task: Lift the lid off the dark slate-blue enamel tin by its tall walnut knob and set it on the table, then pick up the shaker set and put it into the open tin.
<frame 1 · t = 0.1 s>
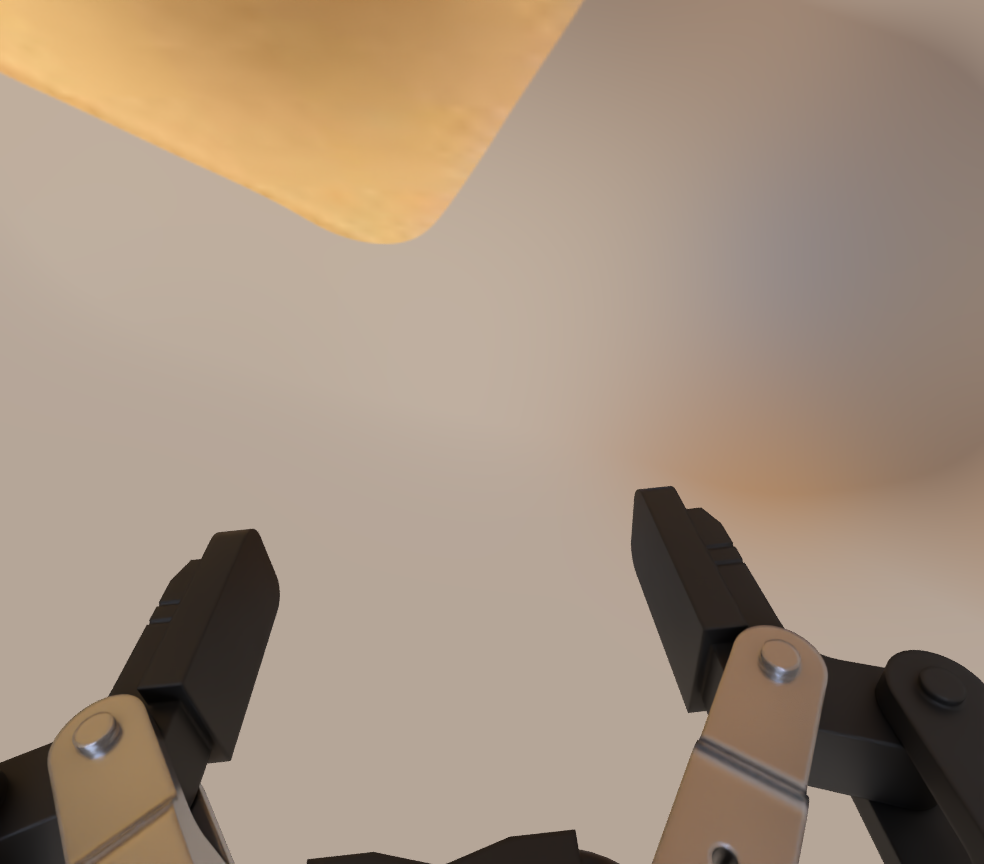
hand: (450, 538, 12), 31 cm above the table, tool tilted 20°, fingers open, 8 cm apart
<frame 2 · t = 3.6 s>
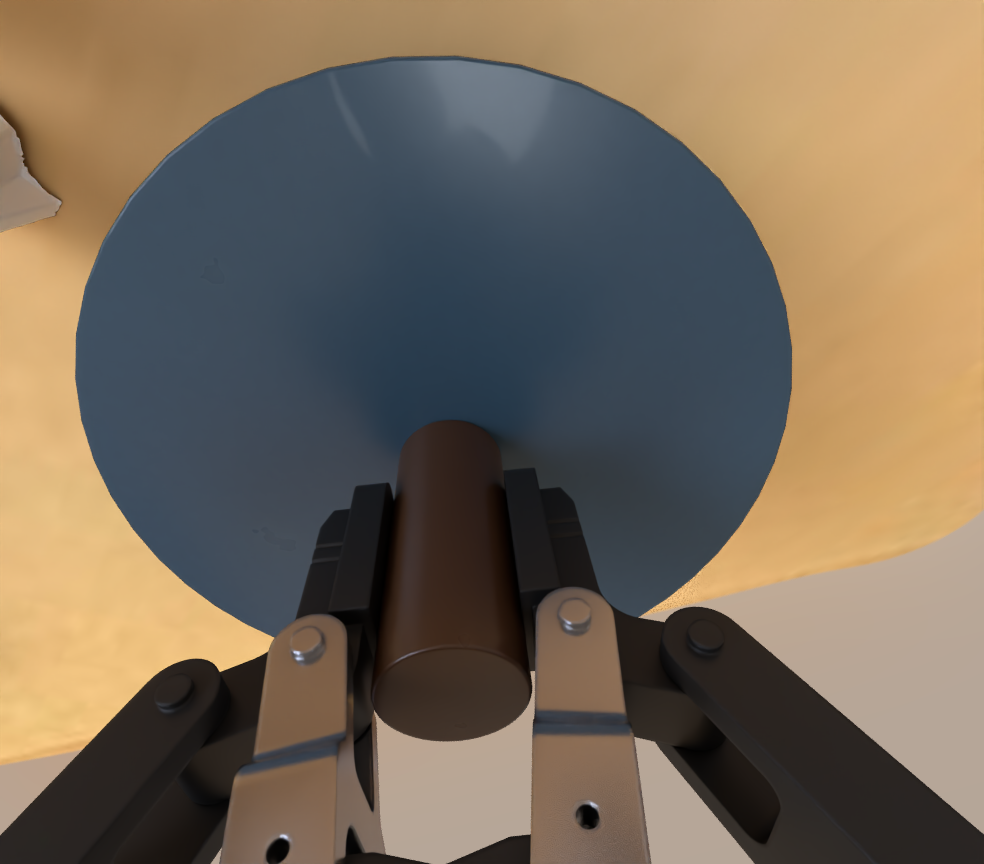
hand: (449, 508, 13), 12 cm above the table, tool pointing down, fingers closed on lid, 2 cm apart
lid: (450, 448, 15), point 10 cm above the table, touching gripper, tin
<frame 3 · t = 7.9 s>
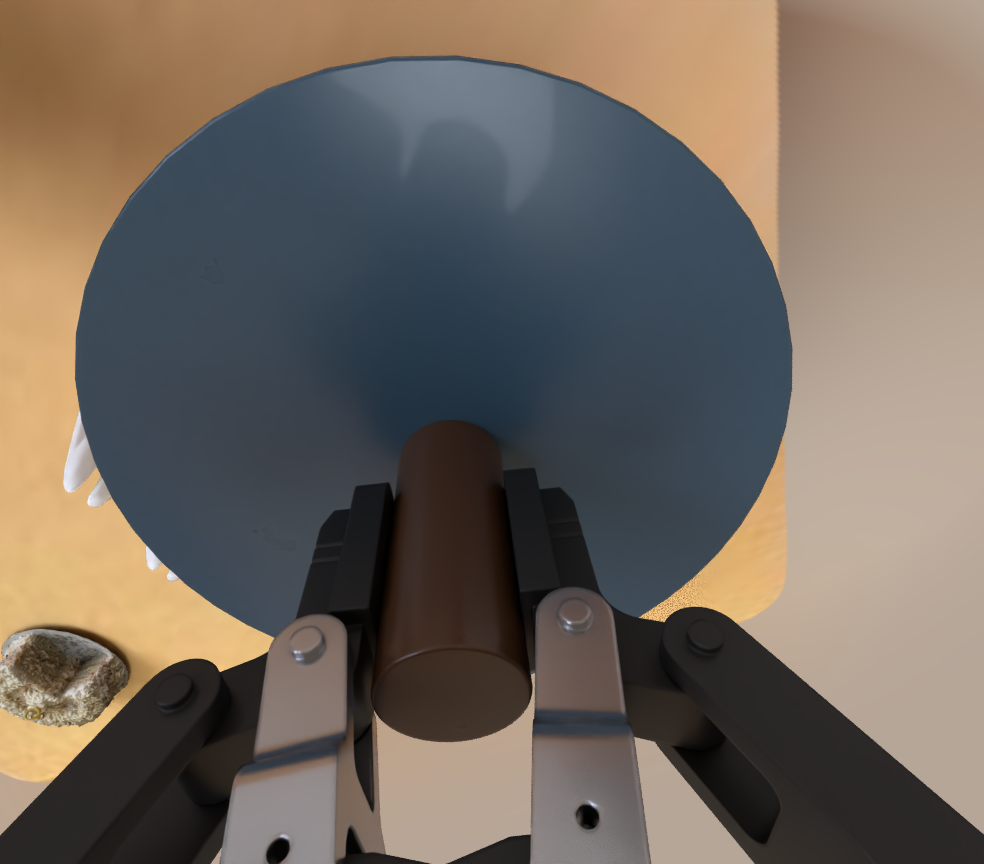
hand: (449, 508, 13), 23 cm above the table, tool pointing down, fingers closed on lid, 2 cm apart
lid: (450, 449, 15), point 20 cm above the table, touching gripper
shaker set: (191, 410, 37), on the table
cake: (70, 660, 49), on the table
when the fingers open (3 cm above the table, at t = 12.4 s): lid stays where it is, point 1 cm above the table.
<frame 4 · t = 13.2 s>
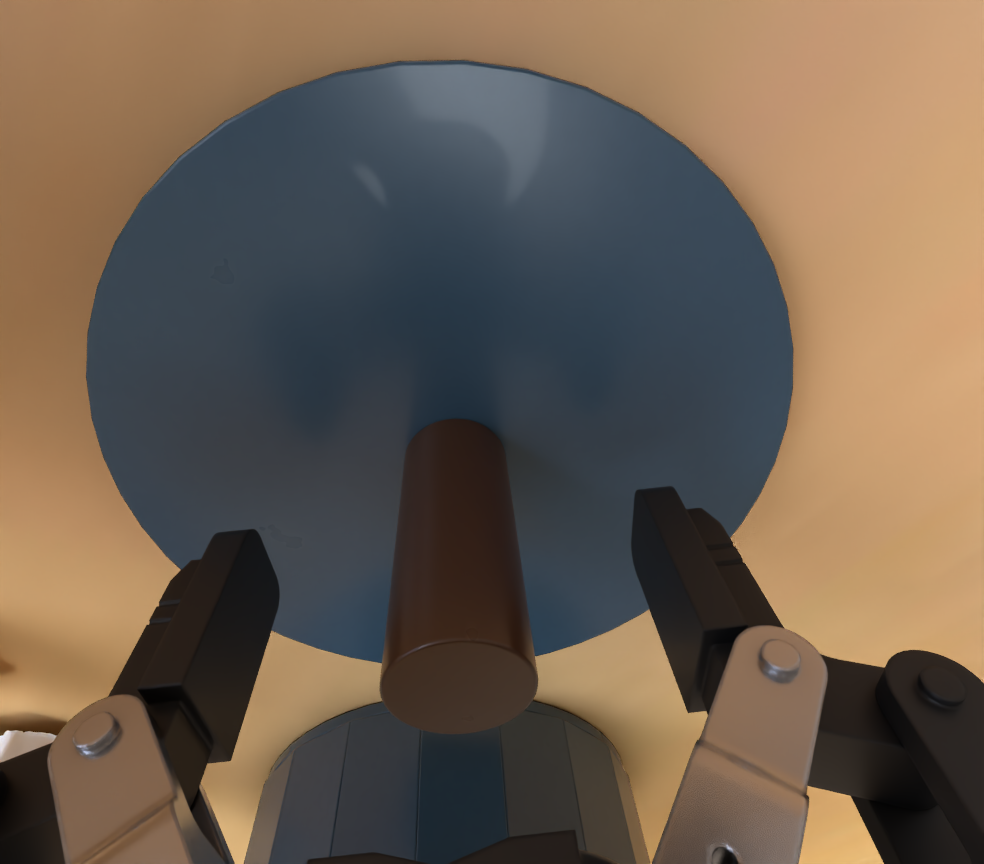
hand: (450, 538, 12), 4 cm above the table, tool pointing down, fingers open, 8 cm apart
tin: (448, 797, 27), on the table
lid: (455, 447, 15), point 1 cm above the table
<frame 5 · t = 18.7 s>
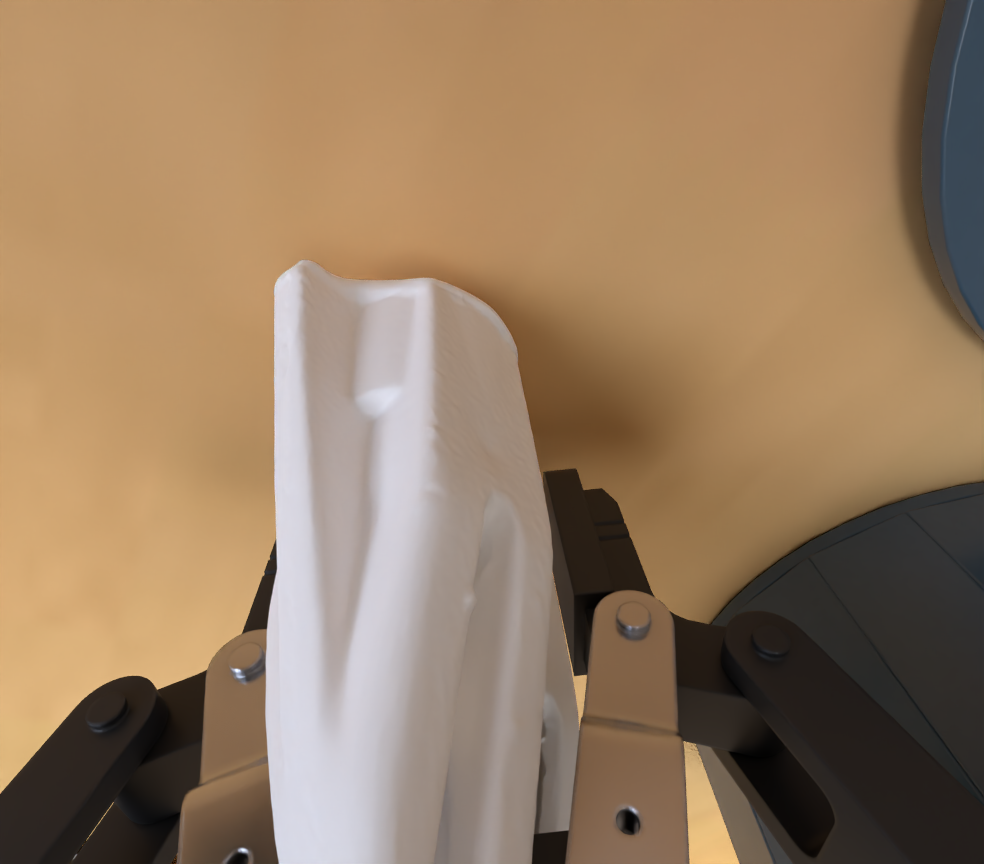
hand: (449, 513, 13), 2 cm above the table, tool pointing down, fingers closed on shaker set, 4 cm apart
tin: (904, 655, 21), on the table
shaker set: (451, 450, 15), on the table, touching gripper
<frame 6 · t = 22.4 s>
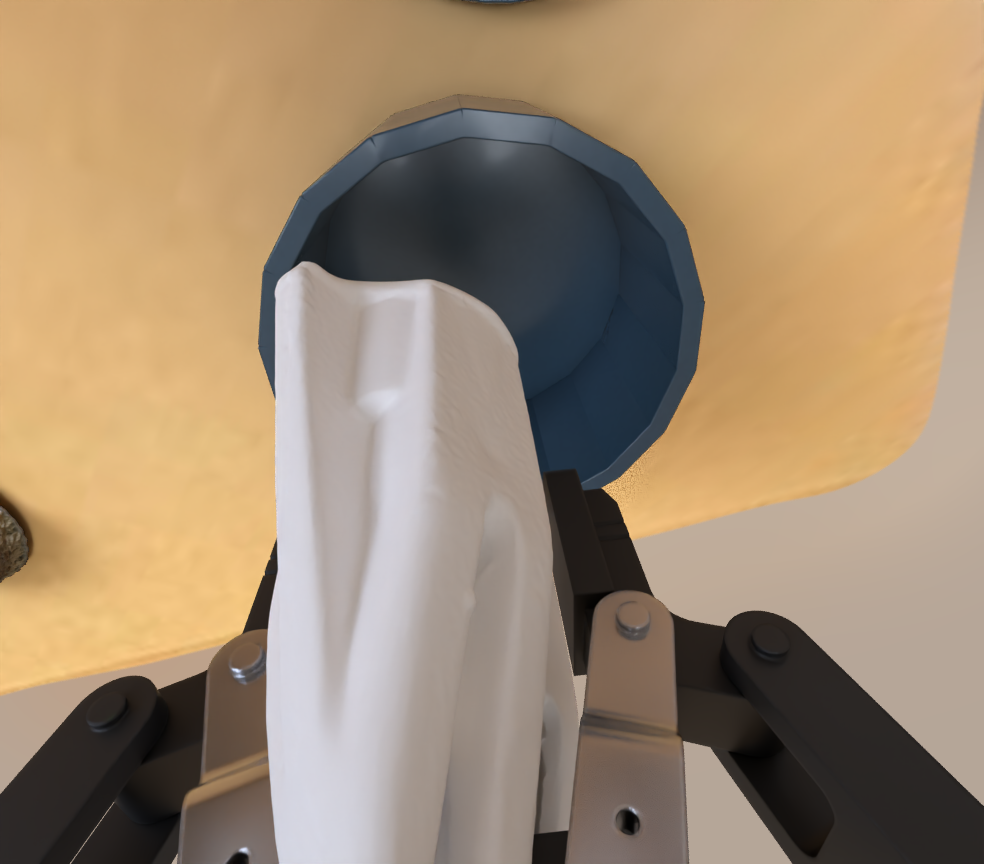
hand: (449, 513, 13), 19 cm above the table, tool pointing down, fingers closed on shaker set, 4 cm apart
tin: (475, 279, 30), on the table
shaker set: (452, 451, 15), point 17 cm above the table, touching gripper
when the fingers open (3 cm above the table, at t = 26.6 s): shaker set stays where it is, resting on tin.
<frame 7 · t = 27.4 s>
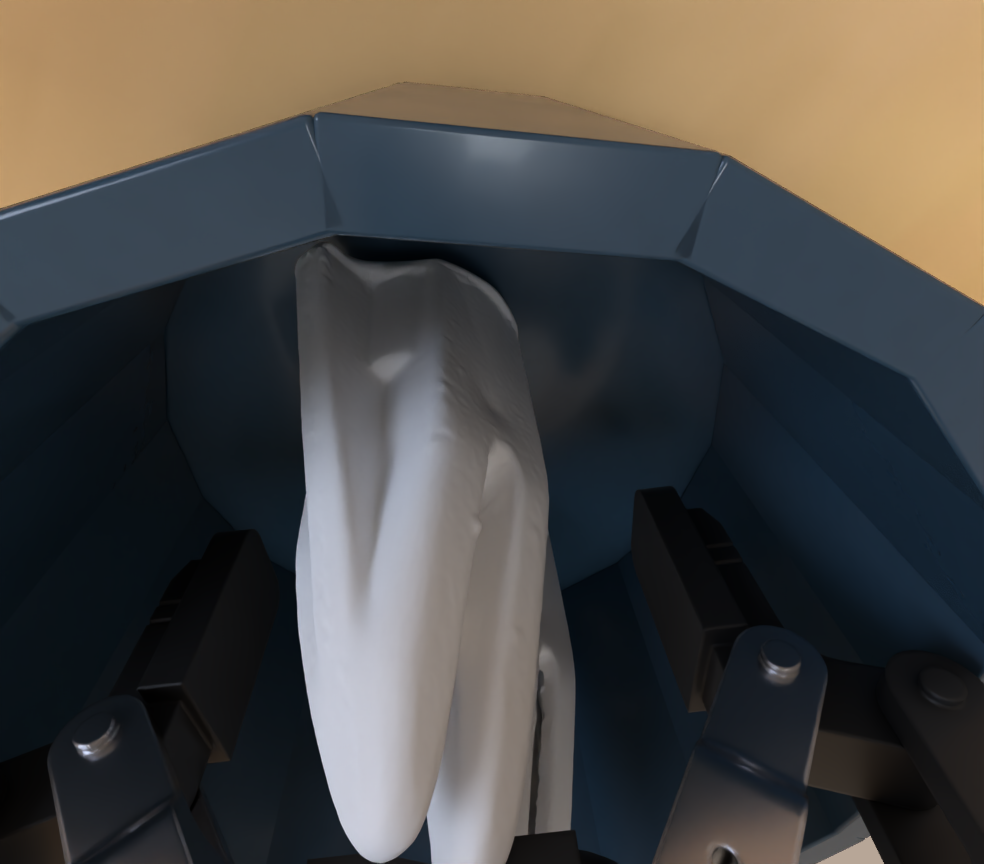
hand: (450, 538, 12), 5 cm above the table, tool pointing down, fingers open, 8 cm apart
tin: (452, 422, 16), on the table
shaker set: (455, 426, 16), resting on tin
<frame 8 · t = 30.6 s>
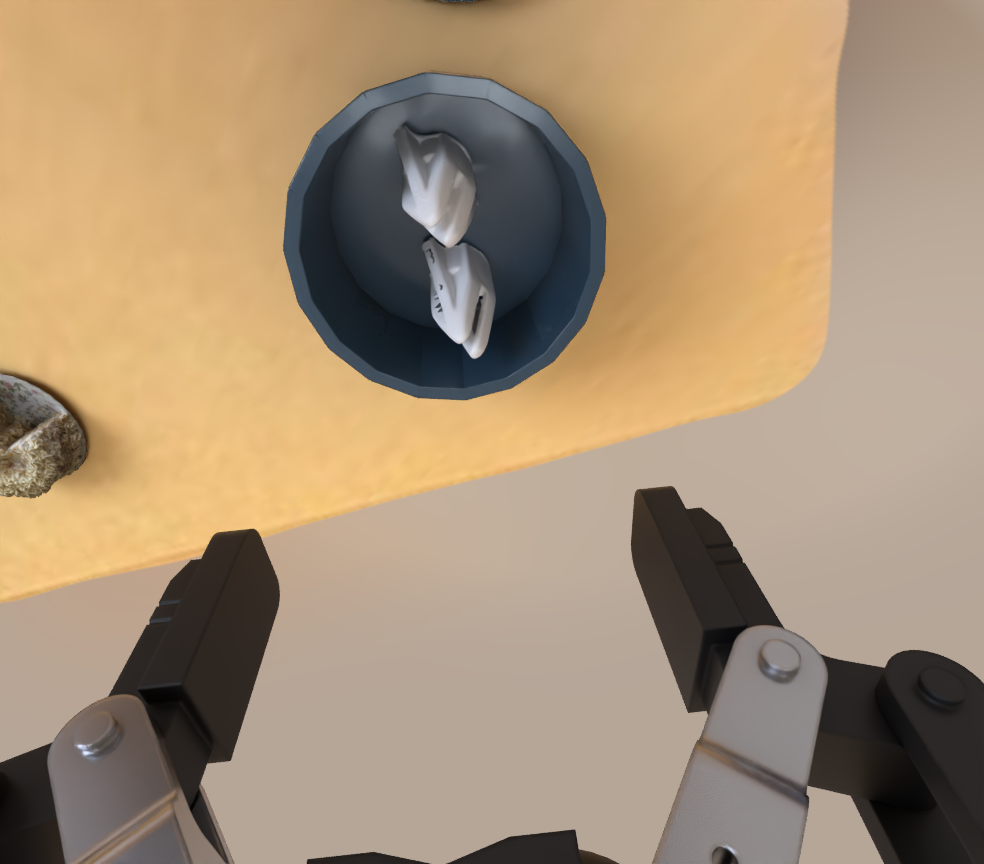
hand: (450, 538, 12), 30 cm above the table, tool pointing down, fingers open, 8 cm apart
tin: (448, 219, 38), on the table
shaker set: (449, 220, 37), resting on tin
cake: (19, 425, 44), on the table
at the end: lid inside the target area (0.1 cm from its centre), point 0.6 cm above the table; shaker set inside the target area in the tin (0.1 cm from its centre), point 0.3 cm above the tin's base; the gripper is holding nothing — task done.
